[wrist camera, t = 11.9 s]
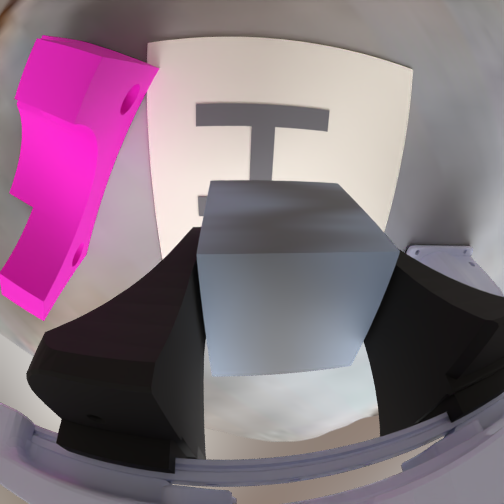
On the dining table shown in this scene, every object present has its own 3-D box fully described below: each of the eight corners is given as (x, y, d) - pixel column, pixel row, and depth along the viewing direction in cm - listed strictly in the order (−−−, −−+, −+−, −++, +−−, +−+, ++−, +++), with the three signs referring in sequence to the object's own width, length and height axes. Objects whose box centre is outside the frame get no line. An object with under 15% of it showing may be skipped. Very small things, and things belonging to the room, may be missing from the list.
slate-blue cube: (337, 183, 10) (400, 251, 6) (319, 281, 13) (350, 365, 9) (210, 180, 10) (196, 254, 6) (215, 283, 13) (212, 376, 9)
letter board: (411, 69, 13) (413, 69, 13) (373, 263, 22) (374, 265, 22) (148, 43, 12) (147, 42, 12) (164, 266, 20) (163, 268, 20)
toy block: (83, 41, 11) (6, 32, 4) (159, 68, 13) (102, 57, 6) (30, 222, 17) (-22, 276, 11) (86, 254, 19) (43, 321, 13)
